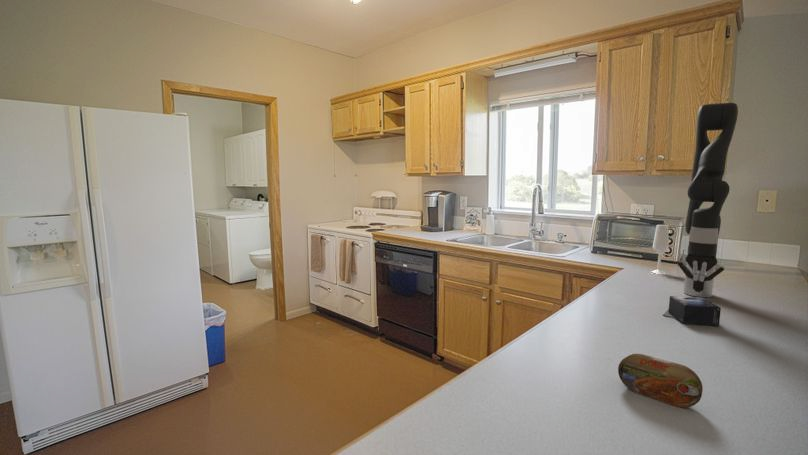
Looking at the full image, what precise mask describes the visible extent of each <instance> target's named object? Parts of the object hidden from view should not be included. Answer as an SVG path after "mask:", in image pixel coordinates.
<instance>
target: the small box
mask: <svg viewBox="0 0 808 455" xmlns="http://www.w3.org/2000/svg"><path fill="white" fill-rule="evenodd" d="M668 309H669V310H668ZM668 309H667V310H668V312H669V313H670V314H671V315H672V316H674V317H675V318H674V319H676V320H678V321H679V322H680V323H682V324H692V325H693V324H694V325H708V326H717V327H718V326H720V321H721V310H722V308H721V306H718V305H717V304H715V303H714V302H712V301H710V300H708V299H706V297H697V296H677V295H670V296H669V303H668Z"/></svg>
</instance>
